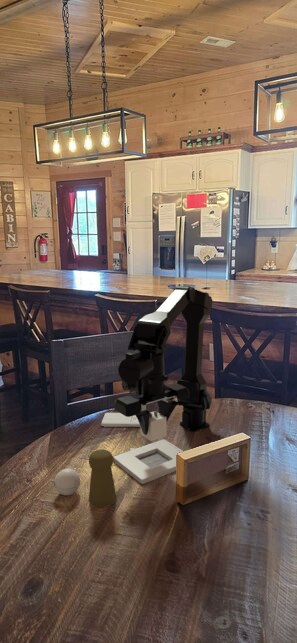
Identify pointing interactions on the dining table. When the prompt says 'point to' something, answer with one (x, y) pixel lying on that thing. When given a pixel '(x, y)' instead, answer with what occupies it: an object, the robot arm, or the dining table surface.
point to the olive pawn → (101, 479)
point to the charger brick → (156, 427)
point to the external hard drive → (119, 420)
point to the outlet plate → (149, 461)
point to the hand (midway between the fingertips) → (153, 431)
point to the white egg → (67, 481)
